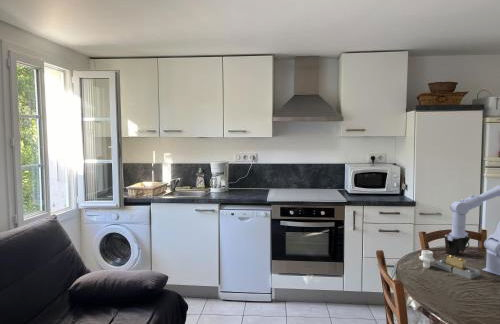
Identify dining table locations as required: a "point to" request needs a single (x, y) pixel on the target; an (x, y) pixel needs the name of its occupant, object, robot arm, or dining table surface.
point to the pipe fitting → (426, 258)
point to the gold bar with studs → (456, 262)
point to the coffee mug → (448, 246)
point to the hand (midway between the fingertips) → (457, 252)
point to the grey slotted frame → (457, 269)
